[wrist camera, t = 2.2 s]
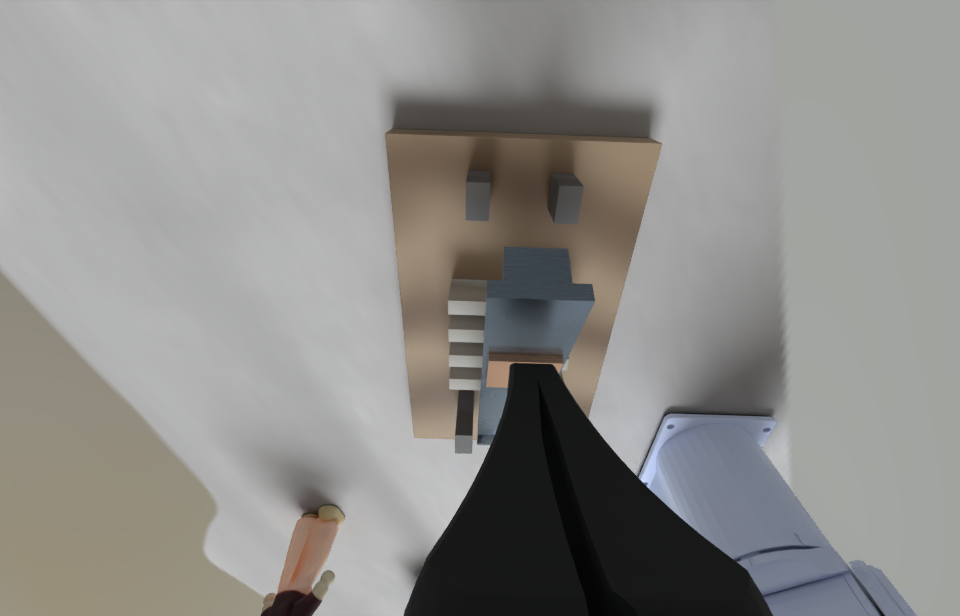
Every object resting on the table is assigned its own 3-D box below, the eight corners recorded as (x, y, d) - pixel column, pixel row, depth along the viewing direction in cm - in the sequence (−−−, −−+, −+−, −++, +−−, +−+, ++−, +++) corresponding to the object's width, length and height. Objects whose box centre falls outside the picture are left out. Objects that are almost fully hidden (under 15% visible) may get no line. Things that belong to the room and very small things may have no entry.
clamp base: (577, 426, 28) (592, 489, 24) (417, 421, 28) (405, 483, 24) (649, 138, 18) (700, 160, 13) (392, 128, 18) (362, 148, 13)
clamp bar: (524, 408, 24) (526, 449, 23) (478, 406, 24) (477, 447, 23) (585, 244, 12) (597, 313, 10) (487, 241, 12) (486, 309, 10)
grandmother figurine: (324, 493, 34) (249, 692, 23) (360, 510, 35) (305, 705, 24) (281, 525, 37) (198, 714, 26) (316, 540, 38) (250, 724, 27)
